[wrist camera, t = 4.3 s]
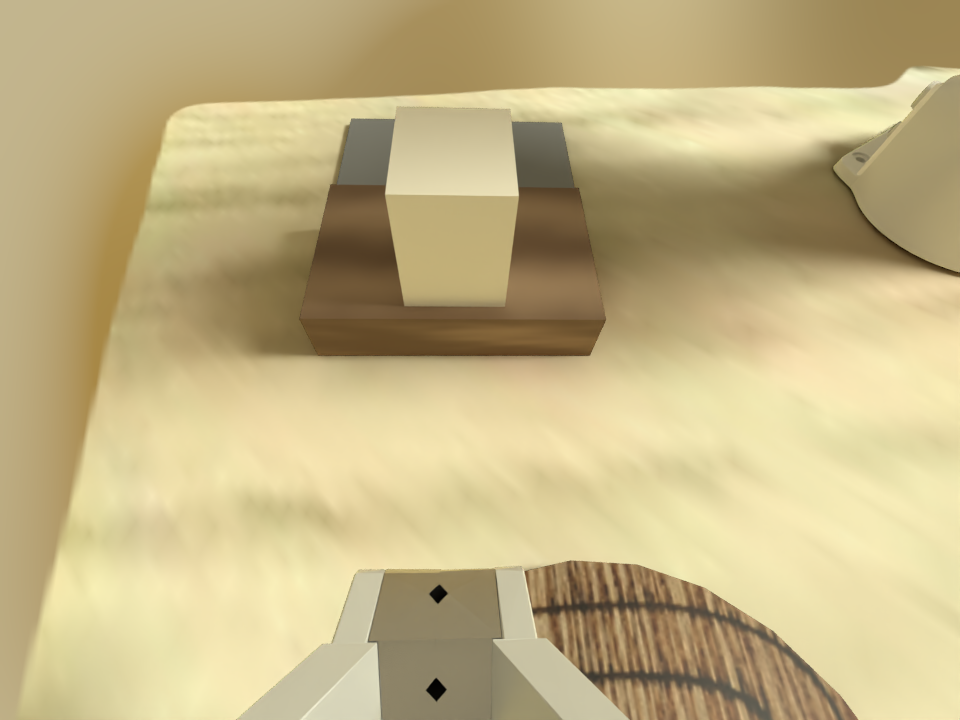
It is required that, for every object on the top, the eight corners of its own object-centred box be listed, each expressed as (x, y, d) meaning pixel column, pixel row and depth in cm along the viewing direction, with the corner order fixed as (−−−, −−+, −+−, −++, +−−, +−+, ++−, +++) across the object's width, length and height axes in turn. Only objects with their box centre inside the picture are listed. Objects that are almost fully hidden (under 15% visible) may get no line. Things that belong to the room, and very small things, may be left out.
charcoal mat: (352, 124, 43) (351, 118, 43) (560, 128, 44) (561, 122, 44) (330, 227, 36) (328, 221, 35) (580, 229, 37) (581, 224, 36)
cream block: (411, 224, 31) (396, 106, 24) (499, 225, 31) (510, 108, 24) (404, 306, 27) (384, 194, 20) (504, 306, 27) (518, 196, 20)
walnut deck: (343, 227, 36) (330, 184, 33) (567, 229, 37) (578, 187, 33) (318, 355, 30) (299, 318, 26) (589, 355, 30) (605, 319, 27)
